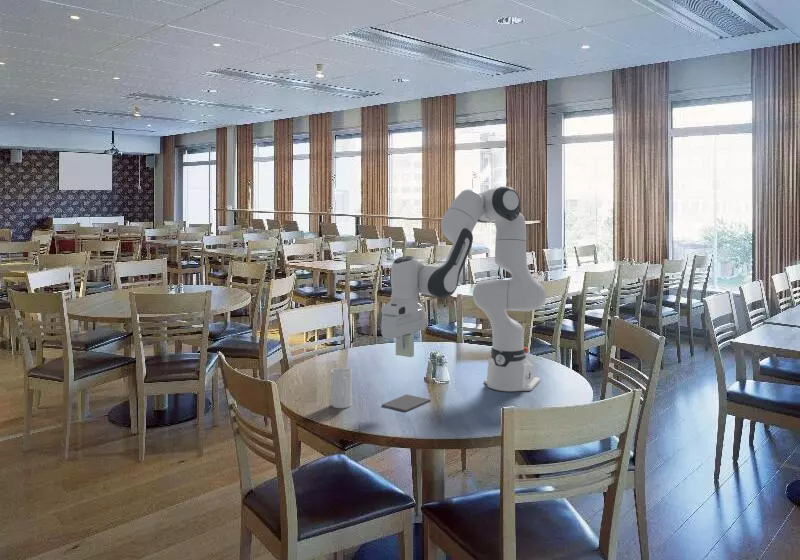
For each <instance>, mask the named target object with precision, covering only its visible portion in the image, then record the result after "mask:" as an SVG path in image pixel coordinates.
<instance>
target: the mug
mask: <svg viewBox="0 0 800 560" xmlns="http://www.w3.org/2000/svg"><path fill="white" fill-rule="evenodd" d="M330 371H331V372H330V375H331V376H330V377H331V380H330V381H331V402H332V407H333V408H336V409H347V408H350V407H352V390H353V389H352V388H353V387H352V386H353V385H352V383H353V382H352V380H353V379H352V377H353V372H352V369H351V368H348V367H335V368H332V369H331V370H330Z"/></svg>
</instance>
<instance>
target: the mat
mask: <svg viewBox="0 0 800 560" xmlns="http://www.w3.org/2000/svg"><path fill="white" fill-rule="evenodd" d="M429 402H431V399H430V398H425V397H420V396H416V395H411V394H404V395H401V396H398V397H396V398H394V399H392V400H390V401H388V402H385V403H382V404H381V407H382V408H388V409H392V410H396V411H400V412H404V413H407V412H409V411H412V410H414V409H416V408H418V407H421V406H423V405H425V404H427V403H429Z"/></svg>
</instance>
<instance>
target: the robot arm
mask: <svg viewBox="0 0 800 560" xmlns="http://www.w3.org/2000/svg"><path fill="white" fill-rule="evenodd" d="M478 222H479V223H480V222H481V223H487V222H494V225H495V229H496V232H495V242H494V243H495V245H494V246H495V248H494V249H495V250H494V261H495V264H496V266H498V268H500V269H502V270H503V271H505V272H508V273H510V275H511V278H510V279H486V280H480V281H478V282H477V283H476V284H475V286H474V288H473V290H472V298H473V299H472V300H473V301H474V304H475V305H476V307H478V308H479V309H480V310H482V312H483V313H484V314H485V315H486V316H487V318H488V320H489V323H490V325H491V332H492V336H491V337H492V347H491V350H490V357H491V358H490V360H489V361H488V365H487V373H486V374H487V375H486V378H484V380H483V383H484V384H486V385H487V387H488V388H489V389H492V390H496V391H500V392H501V391H502V392H522V391H523V392H524V391H525V392H526V391H527V392H529V391H532V390H533V389H534V388H536V386H537V385H538V384H539V383H540V382H541V378H540V377H537V376H535V375H534V374H535V369H534V368H535V367H534V365H533V364H532V363H531V362H530V361H529V360H528V359H527V355H526V354H528V353H529V347H524V344H525V343H524V341H525V339H524V337H525V331H524V327H523V326H522V324H521V323H520V322H519V321H517V320H515V319H513V318H511V317H510V316H509V315H508V313H507V312H509V311H514V312H515V311H516V312H531V311H537V310H540V309H541V308H542V307H543V306H544V304H545V302H546V300H547V299H546V298H547V292H546V289H545V287H544V286H543V284H542V283H541V282H540V281H538V280H537V279H536V278H535V277H534V276H533V275H532V273H531V271H530V268H529V265H528V261H527V260H528V259H527V241H528V240H527V225H526V219H525V217H524V215H523V214H522V213H521V199H520V196H519V193H518V192H517V190H515V188H514V187H510V186H499V187H496V188H495V187H494V188H490V189H487V190H485V191H483V192H479V191H476V190H473V189H469V188H468V189H464V190H462V191H461V192H460V193H459V194H458V195H457V196H456V197H455V199H454V200H453V201H452V202H451V204H450V206H449V207H448V208H447V210H446V212H445V213H444V215H443V217H442V219H441V222H440V229H441V232H442V234H443V235H444V237H445V238H446V239H447V240H448V241H450V243H452V244H451V248H450V250H449V253H448V255H447V257H446V261H445V262H444V263H443V264H442V265H441V266H434V265H427V264H425V263H422V262H420V261H419V260H418V259H417V258H416V257H415V256H412V255H406V256H400V257H396V258H395V259H394V260H393V262H392V263H391V264H392V265H391V272H390V285H391V295H390V301H388V302H387V303H386V304H385V305H384V306H382V307H381V309H380V311H381V314H382V317H381V325H380V327H381V335H382V338H384V339H388V340H393V339H395V342H396V341H397V343H398V348H399V349H403V348H405V343H403V340H402V339H403V336H404V335H407V334H409V335H414V334H415V333H418V332H421V331H424V330H425V329H426V314H425V310H424V306H423V305H422V304H421V303H420V302H419V294H422V295H427V296H433V297H435V298H439V299H441V300H442V299H443V300H444V299H448V298H450V297H452V296H453V294H454V293H455V292H456V290H457V287H458V284H459V279H460V277H461V276H460V275H461V272H462V271H463V268H464V265H465V262H466V260H467V257H468V255H469V253H470V250H471V248H472V244H473V241H474V235H473V231H474V228H475V227H476V225H477V223H478Z"/></svg>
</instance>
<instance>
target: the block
mask: <svg viewBox="0 0 800 560" xmlns="http://www.w3.org/2000/svg"><path fill="white" fill-rule="evenodd" d="M402 340H403V343H405V348H403V349H399V348H398V343H397V341H396V340H395V356H401V357H407V358H413V357H415V335H414V334H413V335H409V334H407V335H404V336H403V339H402Z"/></svg>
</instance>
